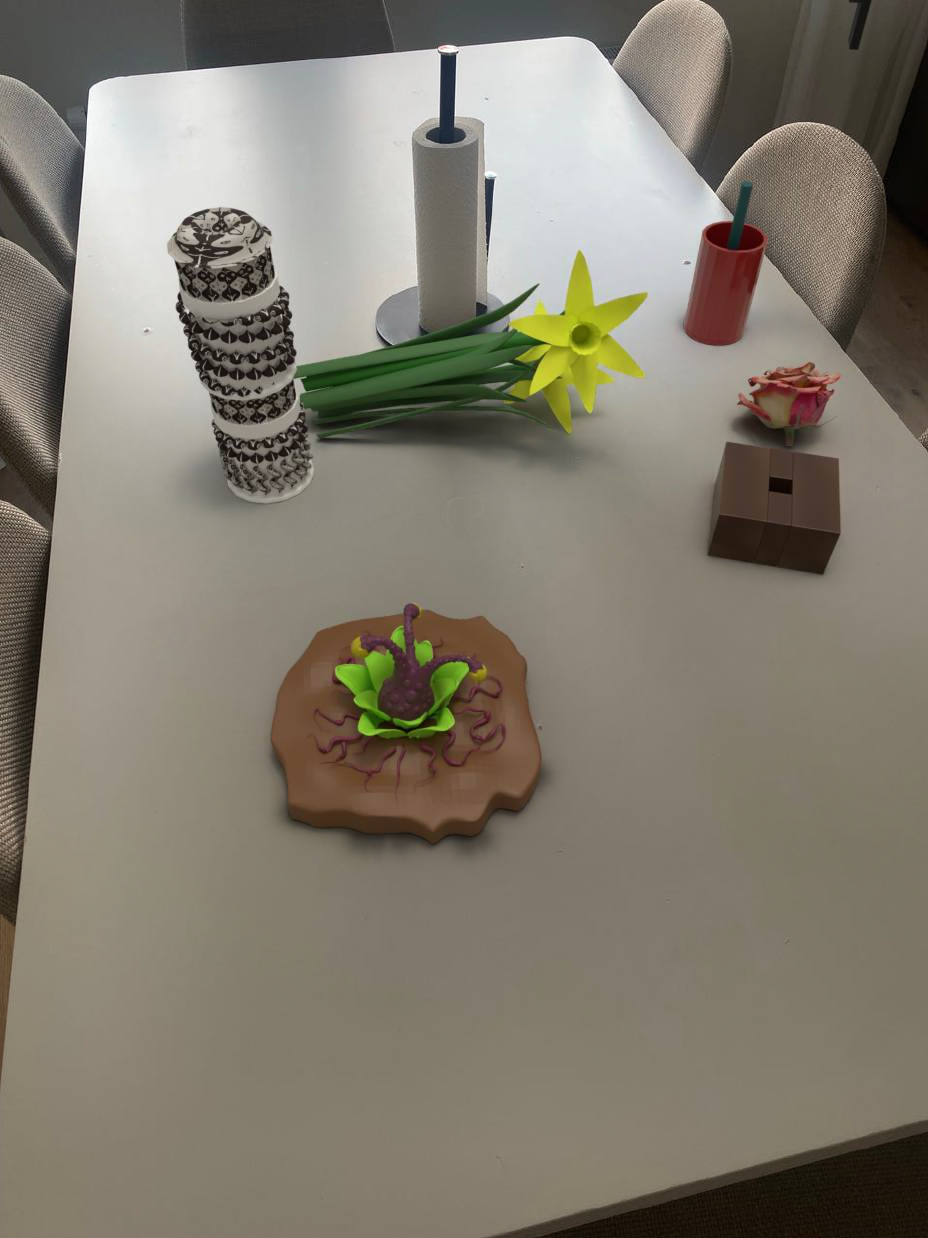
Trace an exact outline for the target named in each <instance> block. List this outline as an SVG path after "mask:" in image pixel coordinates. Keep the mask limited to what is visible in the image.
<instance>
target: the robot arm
mask: <svg viewBox="0 0 928 1238" xmlns="http://www.w3.org/2000/svg"><path fill="white" fill-rule="evenodd" d="M872 1H873V0H848V3H851V4H852V3H853V4H856V8H855V11H854V12H855V13H854V16H853V20H852V24H851V27H850V30H849V35H848V39H847V40H848V41H847V42H848V49H849V50H852V51H859V48H860V45H861V41H862V38H863V34H864V30H865V26H866V23H867V19H868V15H869V11H870V8H871V4H872Z"/></svg>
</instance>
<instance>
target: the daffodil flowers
mask: <svg viewBox="0 0 928 1238" xmlns="http://www.w3.org/2000/svg"><path fill="white" fill-rule="evenodd" d="M539 285H540V283H536V284H535V285H533V286H531V287H530V288H529V289H527V290H526V291H524V292H523V293H522V294H520V295H519V296H517V297H516V298H514V299H513V300H511V301H509V302H507V303H505V304H503V305H502V306H499V307H498V308H496V309H494V310H491V311H489V312H487V313H484V314H482V315H479V316H476V317H473V318H470V319H468V320H466V321H463V322H460V323H457V324H455V325H452V326H449V327H446V328H443V329H439V330H437V331H434V332H430V333H426V334H425V335H421V336H418V337H415V338H411V339H409V340H406V341H403V342H400V343H396V344H392V345H389V346H385V347H382V348H378V349H375V350H371V351H368V352H364V353H360V354H355V355H349V356H343V357H338V358H333V359H332V358H331V359H327V360H322V361H316V362H311V363H307V364H301V365H296V367H297V371H296V373H295V375H294V377H293V379H294V380H295V379H300V382H301V384H302V386H303V389H304V391H305V392H302V393H300V395H299V402H300V403H302V405H303V410H308V409H310V410H311V411H312V412H316V413H317V418H315V419H312V420H311V423H312V424H313V425H320V424H327V423H332V422H333V423H334V422H339V421H346V420H352V419H359V418H366V417H368V418H369V417H379V416H386V415H387V416H388V417H384V418H380V419H376V420H372V421H368V422H363V423H360V424H355V425H350V426H346V427H341V428H337V429H332V430H327V431H322V432H318V433H316V434H315V435H316V438H318V439H322V438H327V437H332V436H337V435H343V434H346V433H350V432H351V433H352V432H355V431H359V430H365V429H369V428H374V427H377V426H381V425H385V424H389V423H392V422H397V421H400V420H401V421H402V420H405V419H409V418H413V417H417V416H422V415H425V414H430V413H433V412H456V411H459V412H460V411H479V412H505V413H511V414H514V415H517V416H522V417H525V418H528V419H529V420H532V421H535V422H536V423H539V424H540V425H543V426H545V427H546V428H550V429H551V430H554V431H556V428H554V427H552V426H551V425H549V424H548V423H546V422H544V421H543V420H541V419H540V418H538V417H536V416H534V415H532V414H530V413H528V412H526V411H524V410H520V409H515V408H512V407H510V406H509V407H508V406H497V405H496V406H495V405H494V406H493V405H468V404H473V403H476V402H479V401H482V400H483V401H485V400H487V401H489V400H491V401H504V402H503V404H505V405H511V404H514V403H528V400H526V399H527V398H529V397H531V396H532V395H534V394H536V393H537V392H539V391H541V392H542V394H543V396H544V398H545V400H546V401H547V403H548V406H549V408H550V409H551V411H552V412H553V414H554V415H555V417H556V419H557V420H558V421H559V423H560V425H561V426H562V427H563V429H564V430H565V432H566V433H567V434H568V435H571V433H572V430H573V429H572V428H573V425H572V415H571V403H570V396H569V392H568V386H574V387H575V389H576V391H577V393H578V395H579V398H580V400H581V402H582V405H583V406H584V408H585V410H586V411H587V413H589V414H592V412H593V409H594V405H595V404H594V403H595V398H596V391H597V386H598V385H605V384H612V383H615V382H616V381H615V379H614V378H613V377H612V376H611V375H609V374H608V373H606V372H605V371H603V370H601V369H599V368H598V364H599V365H602V366H603V367H605V368H608V369H609V370H612V371H614V372H617V373H620V374H623V375H627V376H630V377H634V378H637V379H644V378H646V374H645V372H644V371H643V370H642V368H641V367H640V366H639V365H638V363H637V362H636V360H635V359H634V358H633V357H632V356H631V355H630V354H629V353H628V351H626V349H624V348H623V347H622V346H621V344H619V342H617V341H616V340H615V339H614V337H613V336H612V335H610V334H609V333H611V332H612V331H613V330H614V329H616V328H618V327H619V326H620V325H621V324H623V323H624V322H626V321H627V320H628V319H629V318H630V317H631V316H632V315H633V314H634V313H635V312H636V311H637V310H638V309H639V308H640V306H642V304H643V303H644V302H645V301H646V299H647V298H648V295H649V292H645V291H644V292H638V293H634V294H630V295H625V296H622V297H618V298H614V299H612V300H609V301H606V302H603V303H600V304H598V305H595V299H594V292H593V283H592V277H591V275H590V271H589V268H588V264H587V261H586V257H585V255H584V253H583V252H582V250H581V249H578V250H577V252H576V254H575V257H574V262H573V265H572V269H571V273H570V276H569V281H568V287H567V293H566V297H565V304H564V310H563V311H562V312H560V313H559V314H548V312H547V310H546V307H545V306H544V303H543V301H542V300H540V299H539V300H538V302H537V304H536V307H535V310H534V313H533V314H532V315H527V316H522V317H519V318H515V319H514V320H513V319H512V320H511V321H510V322H508V325H507V326H506V327H504V328H503V330H501V331H496V332H487V333H485V332H484V333H479V334H472V335H466V334H468V333H471V332H474V331H476V330H479V329H481V328H485V327H487V326H489V325H492V324H495V323H497V322H499V321H501V320H502V319H504V318H505V317H507V316H509V315H510V314H512V313H514V311H516V310H517V309H518V308H519V307H520V306H521V305H523V303H525V301H527V300H528V299H529V297H531V295H532V294H533V293H534V292H535V291H536V289H537V288H538V287H539ZM509 327H511V328H512V329H511V330H509V331H507V330H508V328H509ZM463 335H466V336H463ZM505 364H507V365H505ZM497 383H498V384H499V383H500V384H501V383H504V384H501V385H499V386H498V387H495V388H492V387H490V386H485V385H489V384H497ZM512 386H513V387H512ZM511 387H512V389H511V390H510V391H509V393H506V392H504V391H506V390H508V389H509V388H511ZM436 403H441V404H436ZM425 404H436V405H432V406H422V407H421V406H420V407H404V406H414V405H425ZM394 407H395V408H394ZM397 407H402V408H397ZM387 408H393V409H387ZM380 409H382V410H380ZM389 415H391V416H389Z"/></svg>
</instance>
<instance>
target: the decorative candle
mask: <svg viewBox="0 0 928 1238" xmlns="http://www.w3.org/2000/svg"><path fill="white" fill-rule="evenodd" d="M273 241H274V239H273V234H272V231H271V229H270V228H269V227H267V226H266V225H265V224H264V223H262V222H260V221H257V220H256V219H255V217H252V215H250V214H249V213H248V212H246V211H244V210H241V209H238V208H234V207H224V206H222V207H221V206H219V207H210V208H205V209H202V210H198V211H195V212H193V213H192V214H190V215H188V216H187V217H185V218H184V219H183V220H182V221H181V223H180V224H179V226H178V227H177V229H176V232H174V233H173V234H172V236H171V237H170V238H169V240H168V241H167V243H166V249H167V254H168V255H169V256H170V257H171V258H172V259H173V260H174V264H175V265H174V266H175V269H176V272H177V276H178V288H179V292H178V293H177V297H176V298H177V300H178V301H177V302H176V304H175V311H176V312H177V313H178V320H179V321H180V322H181V323H182V325H184V326H183V329H182V331H183V334H184V336H185V337H187V347H188V349H189V350H190V351H191V353H190V357H191V359H192V360H193V361H195V363H194V368H195V371H196V372H197V373H198V379H199V381H200V384H201V386H202V387H203V388H204V389H205V390H206V391H207V392H208V394H209V398H210V408H211V414H212V418H213V419H212V421H211V427H212V428H213V434H214V436H215V441H216V442H217V448H218V455H219V458H220V462H221V464H222V469H223V473H224V476H225V478H226V480H227V486H228V488H229V489H230V490H231V491H232V493H233V495H235V496H236V497H238V498H240V499H242V500H244V501H247V502H249V503H255V504H256V503H257V504H266V505H268V504H274V503H280V502H284V501H287V500H289V499H291V498H293V497H296V496H298V495H300V494H301V493H302V492H303V491H304V490H305V489H307V488H308V487H309V485H311V483H312V480H313V478H314V475H315V468H314V464H313V459H314V455H313V454H312V453H310V450H311V446H312V442H311V441H310V440H307V438H308V437H309V433H308V431H309V427H308V425H307V424H306V417H307V414H306V412H305V411H304V406H303V403H300V396H299V395H298V394H299V393H298V389H297V387H296V385H295V379H293V377H294V375H295V373H296V371H297V367H296V366H297V364H296V356H297V350H296V349H295V346H294V338H295V333H294V331H293V330H292V329H291V328H290V325H291V323H292V318H293V313H292V311H291V310H290V307H289V306H290V294H289V292H288V291H287V290H285V288H284V287H283V286H282V285H281V284H280V282H279V276H278V272H277V268H276V266H275V265H274V261H273V260H274V259H273V253H272V248H271V245H272V243H273ZM186 310H188V312H187V311H186Z"/></svg>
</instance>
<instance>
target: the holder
mask: <svg viewBox="0 0 928 1238" xmlns="http://www.w3.org/2000/svg"><path fill="white" fill-rule="evenodd" d="M840 488H841V487H840V459H839V458H838V457H833V456H827V455H826V456H825V455H819V454H812V453H806V452H798V451H792V450H786V449H778V448H771V447H765V446H758V445H752V444H745V443H739V442H732V441H726V442H725V445H724V448H723V451H722V456H721V459H720V464H719V467H718V471H717V474H716V478H715V481H714V491H713V500H712V509H711V518H710V529H709V537H708V547H707V548H708V549H707V556H711V557H718V558H723V559H730V560H735V561H741V562H747V563H755V564H760V565H766V566H772V567H777V568H784V569H789V570H796V571H800V572H801V571H802V572H808V573H814V574H820V575H824V574H825V571H826V568H827V567H828V565H829V563H830V559H831V558H832V555H833V553H834V550H835V548H836V546H837V543H838V542H839V539H840V536H841V535H842V531H841V530H842V527H841V492H840V491H841V490H840Z"/></svg>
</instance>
